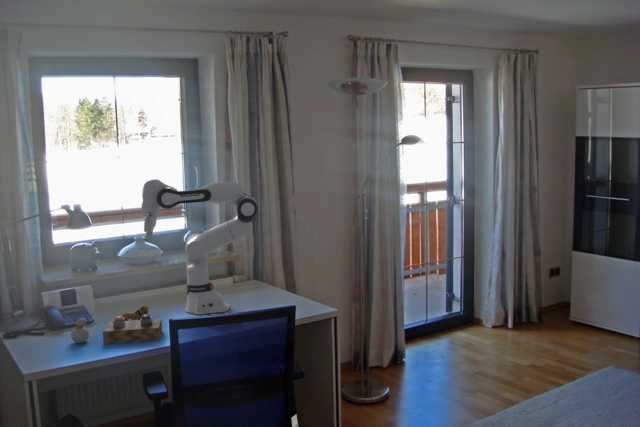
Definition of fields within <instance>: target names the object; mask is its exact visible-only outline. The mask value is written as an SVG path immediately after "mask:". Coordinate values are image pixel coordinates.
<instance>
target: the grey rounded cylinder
mask: <svg viewBox="0 0 640 427" xmlns="http://www.w3.org/2000/svg"><path fill="white" fill-rule="evenodd" d="M112 322H113V328H119V327H124V326H125V318H124V317H123V316H122V315H116V316H114V317H113V321H112Z"/></svg>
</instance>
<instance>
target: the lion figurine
mask: <svg viewBox="0 0 640 427" xmlns="http://www.w3.org/2000/svg"><path fill="white" fill-rule="evenodd" d="M145 314H149V307H148V306H147V305H142V306H140V308H139V309H137V310H136V311H135V312H127V311H126V312H124V313H122V315H121V316H123V318H125V321H135V320H140V319H141V316H142V315H145Z"/></svg>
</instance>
